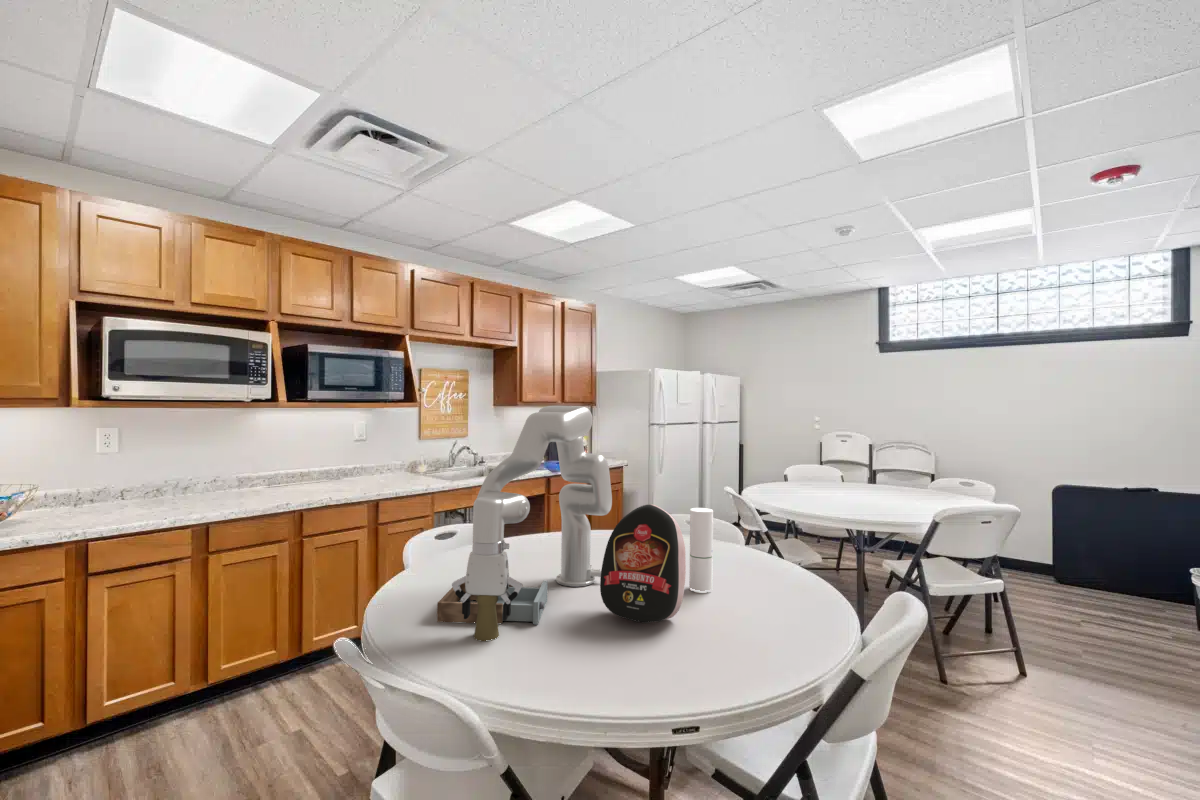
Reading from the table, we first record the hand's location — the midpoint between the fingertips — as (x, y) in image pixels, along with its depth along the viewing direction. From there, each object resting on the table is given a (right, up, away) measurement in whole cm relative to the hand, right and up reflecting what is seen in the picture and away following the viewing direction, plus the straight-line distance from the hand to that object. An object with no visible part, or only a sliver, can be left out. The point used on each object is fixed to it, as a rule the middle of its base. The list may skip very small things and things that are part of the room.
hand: (486, 617), depth 131 cm
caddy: (-5, -5, +16) cm, 18 cm away
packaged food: (+40, -6, +13) cm, 42 cm away
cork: (0, -5, 0) cm, 5 cm away
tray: (+4, -5, +16) cm, 17 cm away
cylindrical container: (+60, -6, +37) cm, 70 cm away
